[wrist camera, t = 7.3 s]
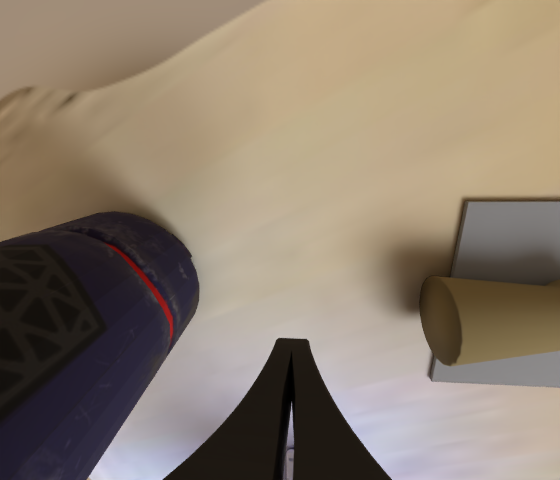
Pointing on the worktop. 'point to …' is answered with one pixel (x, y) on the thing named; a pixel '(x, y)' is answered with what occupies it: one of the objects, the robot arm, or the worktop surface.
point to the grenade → (84, 336)
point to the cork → (488, 319)
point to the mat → (507, 278)
